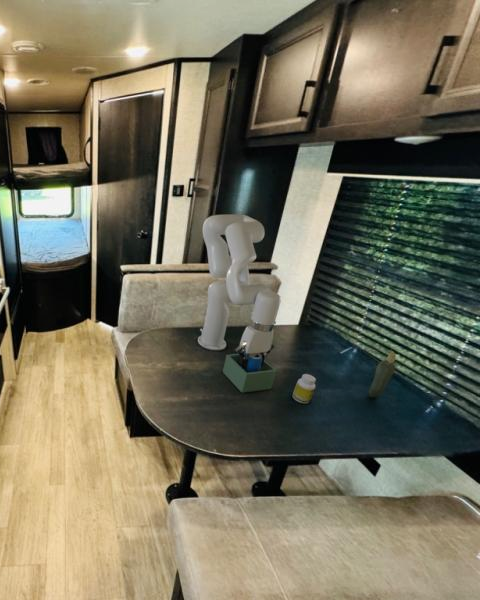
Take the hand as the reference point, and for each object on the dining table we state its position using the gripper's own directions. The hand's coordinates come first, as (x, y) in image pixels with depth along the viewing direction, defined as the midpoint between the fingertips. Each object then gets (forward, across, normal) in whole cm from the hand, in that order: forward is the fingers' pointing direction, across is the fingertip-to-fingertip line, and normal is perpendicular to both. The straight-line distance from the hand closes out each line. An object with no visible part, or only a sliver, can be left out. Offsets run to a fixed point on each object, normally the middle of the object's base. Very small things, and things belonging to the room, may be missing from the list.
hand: (250, 364), depth 121 cm
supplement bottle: (+8, -13, +13) cm, 20 cm away
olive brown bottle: (+8, -39, +17) cm, 43 cm away
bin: (+8, 0, 0) cm, 8 cm away
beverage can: (+7, 0, 0) cm, 7 cm away
